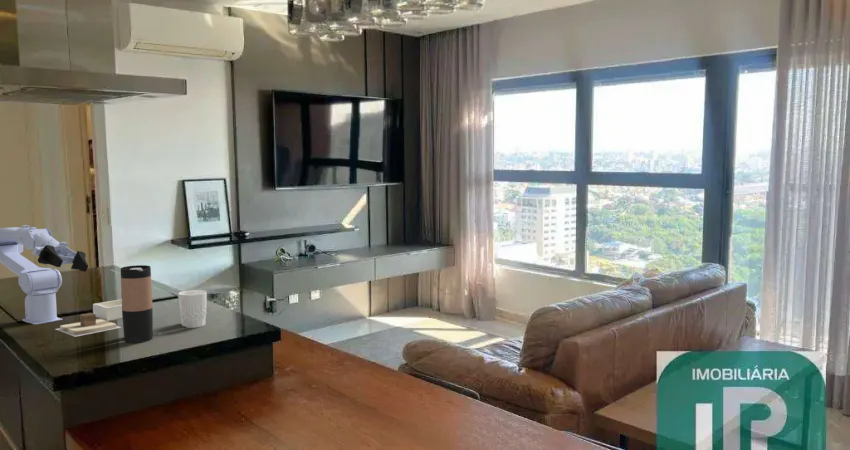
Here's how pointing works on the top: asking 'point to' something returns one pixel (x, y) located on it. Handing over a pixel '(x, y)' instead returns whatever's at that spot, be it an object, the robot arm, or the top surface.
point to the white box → (108, 310)
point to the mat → (84, 334)
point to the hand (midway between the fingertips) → (73, 266)
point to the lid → (87, 325)
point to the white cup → (193, 308)
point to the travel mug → (137, 303)
